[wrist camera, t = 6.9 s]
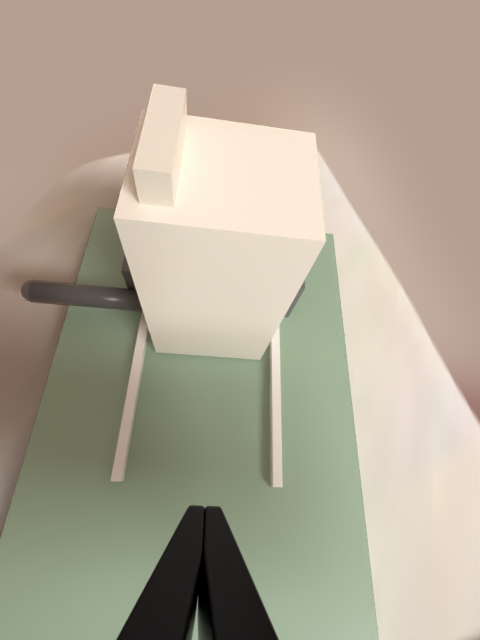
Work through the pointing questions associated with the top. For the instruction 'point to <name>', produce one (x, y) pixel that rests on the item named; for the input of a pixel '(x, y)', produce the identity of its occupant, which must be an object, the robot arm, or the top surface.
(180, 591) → the robot arm
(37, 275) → the top surface
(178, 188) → the plug
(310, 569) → the board
